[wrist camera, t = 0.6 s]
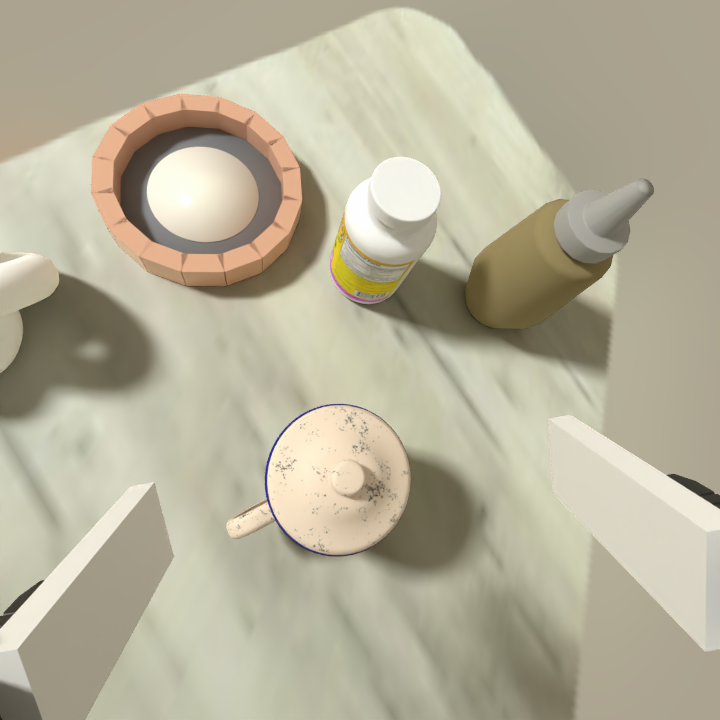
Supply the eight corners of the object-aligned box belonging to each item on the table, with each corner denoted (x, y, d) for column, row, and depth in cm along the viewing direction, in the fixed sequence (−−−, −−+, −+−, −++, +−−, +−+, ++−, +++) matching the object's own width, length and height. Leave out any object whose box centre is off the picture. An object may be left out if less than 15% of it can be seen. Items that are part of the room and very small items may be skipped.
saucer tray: (261, 313, 38) (261, 301, 36) (67, 242, 36) (52, 224, 34) (322, 162, 43) (326, 141, 40) (152, 92, 41) (145, 65, 38)
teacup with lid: (347, 400, 38) (383, 371, 27) (397, 501, 37) (455, 513, 26) (208, 466, 35) (184, 465, 24) (258, 580, 34) (257, 634, 23)
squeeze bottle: (544, 291, 45) (720, 179, 28) (510, 357, 42) (680, 279, 25) (476, 244, 44) (612, 101, 27) (437, 308, 42) (560, 196, 25)
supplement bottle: (364, 224, 42) (407, 124, 30) (413, 276, 42) (476, 197, 30) (311, 266, 40) (334, 177, 28) (363, 321, 40) (408, 255, 28)
